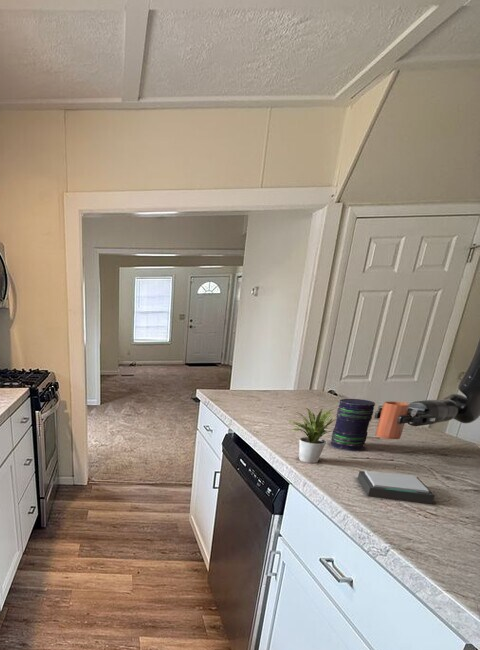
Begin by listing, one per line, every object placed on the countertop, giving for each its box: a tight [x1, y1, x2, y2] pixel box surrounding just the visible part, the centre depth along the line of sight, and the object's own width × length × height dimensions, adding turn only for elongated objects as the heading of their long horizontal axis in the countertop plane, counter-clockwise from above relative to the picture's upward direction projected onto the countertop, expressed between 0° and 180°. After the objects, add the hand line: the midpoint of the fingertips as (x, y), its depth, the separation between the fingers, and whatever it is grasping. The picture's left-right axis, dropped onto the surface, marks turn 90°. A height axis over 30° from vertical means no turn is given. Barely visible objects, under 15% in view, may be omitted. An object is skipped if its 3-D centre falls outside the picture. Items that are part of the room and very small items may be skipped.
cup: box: [375, 400, 410, 440], centre depth 119 cm, size 6×6×10 cm
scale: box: [357, 470, 436, 505], centre depth 100 cm, size 13×12×3 cm
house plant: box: [288, 406, 338, 464], centre depth 120 cm, size 14×14×16 cm
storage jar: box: [329, 398, 376, 452], centre depth 131 cm, size 10×10×15 cm
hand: (387, 417), depth 118 cm, fingers closed on cup, 6 cm apart
